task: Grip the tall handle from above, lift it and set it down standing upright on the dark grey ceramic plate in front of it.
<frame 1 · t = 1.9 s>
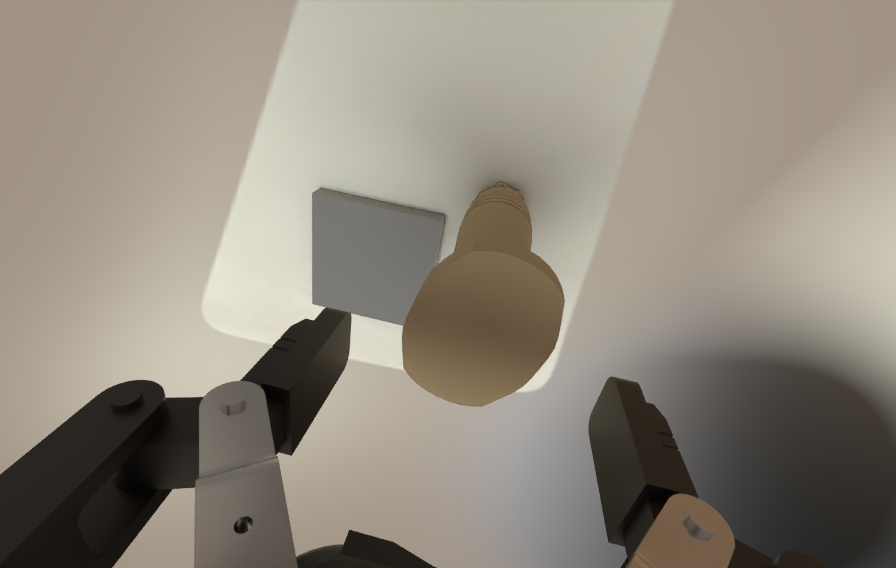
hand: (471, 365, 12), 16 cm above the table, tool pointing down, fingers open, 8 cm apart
handle: (500, 204, 27), on the table
plate: (377, 259, 30), on the table
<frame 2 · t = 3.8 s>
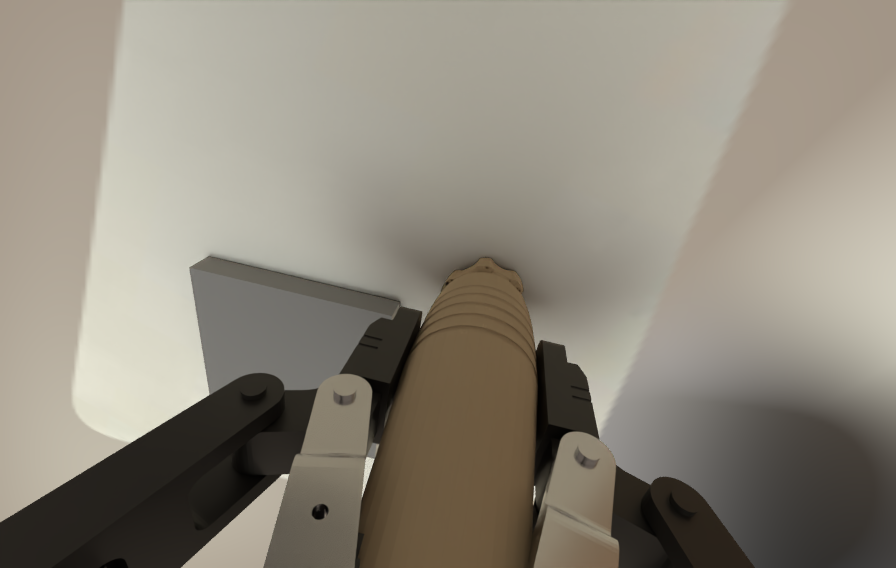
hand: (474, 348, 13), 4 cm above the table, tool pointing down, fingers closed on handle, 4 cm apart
handle: (485, 288, 17), on the table, touching gripper
plate: (303, 356, 20), on the table
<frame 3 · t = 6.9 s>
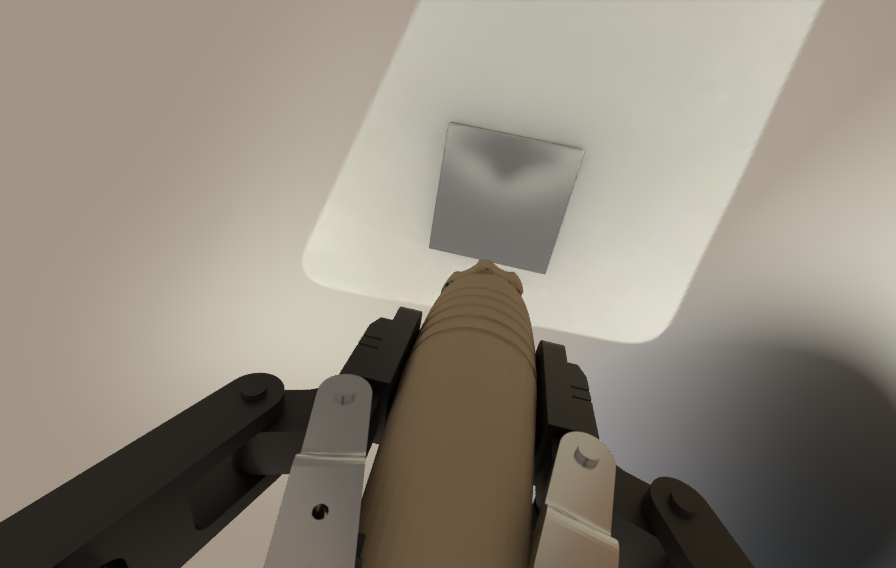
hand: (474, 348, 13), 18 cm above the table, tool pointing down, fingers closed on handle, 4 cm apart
handle: (485, 289, 17), point 14 cm above the table, touching gripper
plate: (500, 199, 29), on the table
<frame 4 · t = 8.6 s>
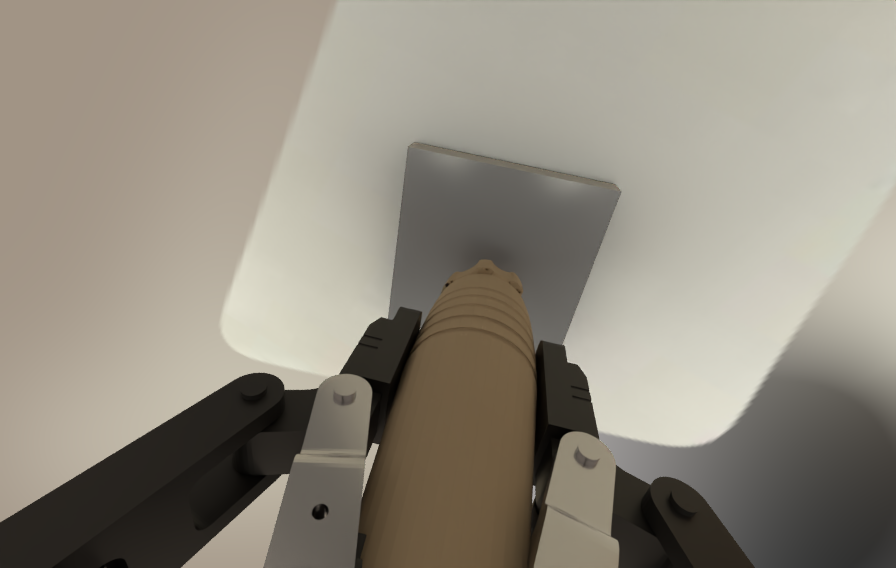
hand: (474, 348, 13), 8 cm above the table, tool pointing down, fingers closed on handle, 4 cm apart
handle: (485, 289, 17), point 3 cm above the table, touching gripper
plate: (491, 254, 20), on the table
when the fingers open (6 cm above the table, at t = 9.7 s): handle drops 1 cm, resting on plate.
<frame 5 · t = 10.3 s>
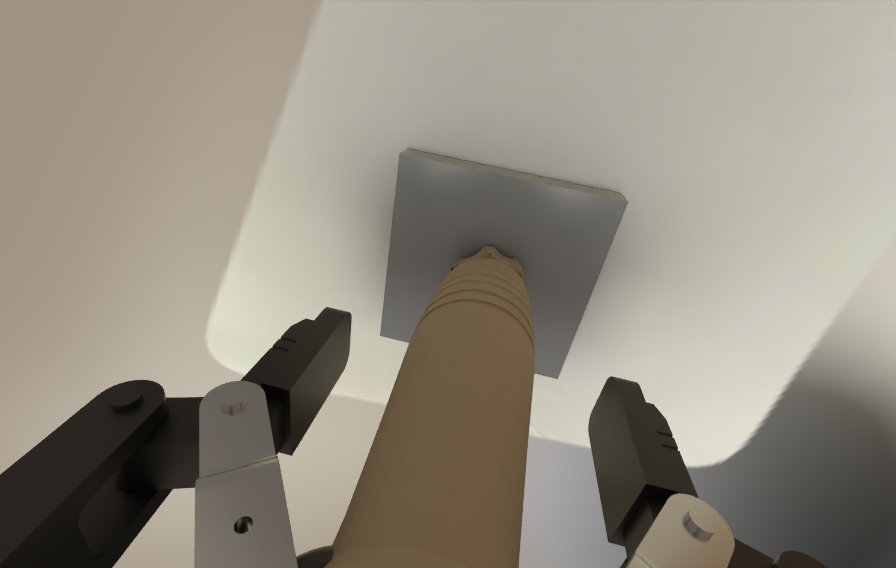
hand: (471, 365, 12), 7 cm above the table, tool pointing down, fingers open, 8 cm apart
handle: (488, 276, 18), point 1 cm above the table, touching plate
plate: (489, 266, 19), on the table
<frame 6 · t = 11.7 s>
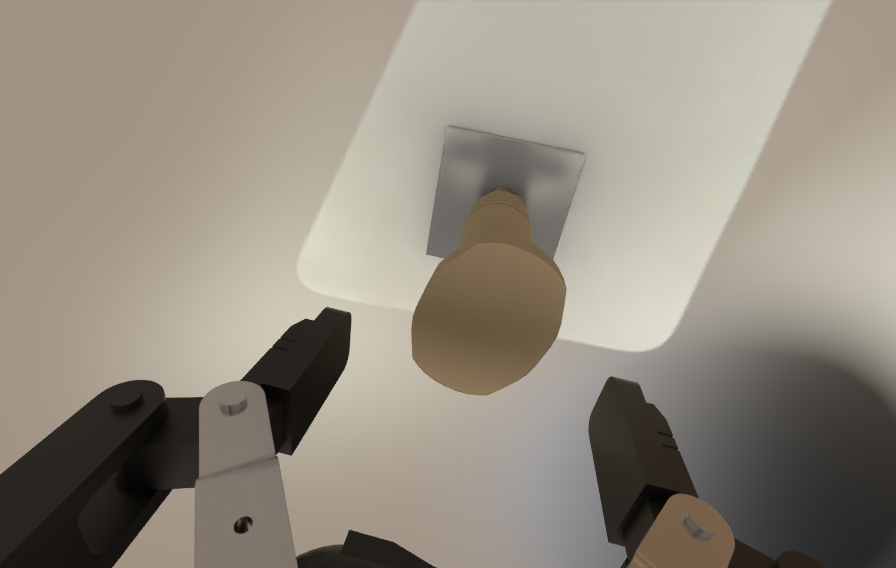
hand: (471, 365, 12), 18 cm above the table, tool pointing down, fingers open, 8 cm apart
handle: (500, 208, 28), point 1 cm above the table, touching plate
plate: (500, 204, 29), on the table
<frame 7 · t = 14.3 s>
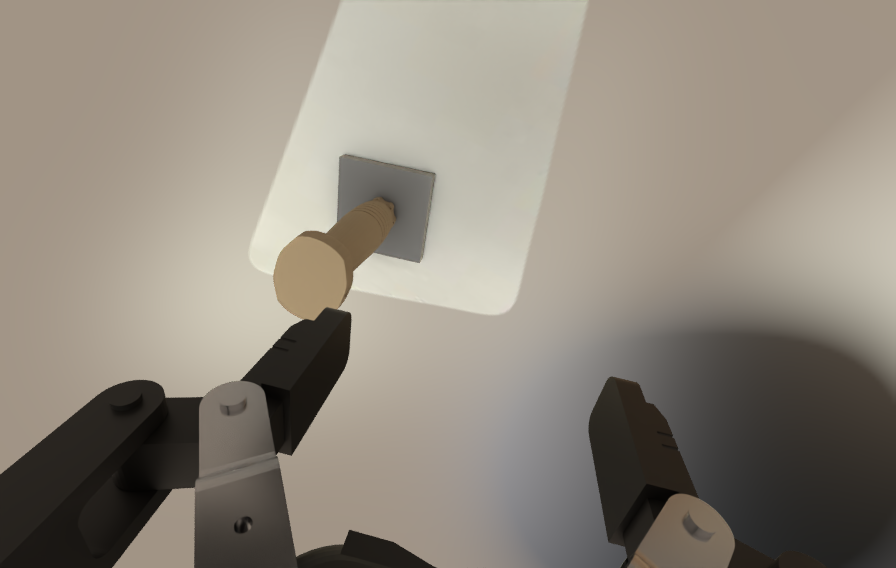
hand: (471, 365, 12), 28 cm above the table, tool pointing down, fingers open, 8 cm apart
handle: (382, 211, 40), point 1 cm above the table, touching plate
plate: (385, 208, 41), on the table
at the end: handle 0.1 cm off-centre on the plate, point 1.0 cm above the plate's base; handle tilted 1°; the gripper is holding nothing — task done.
